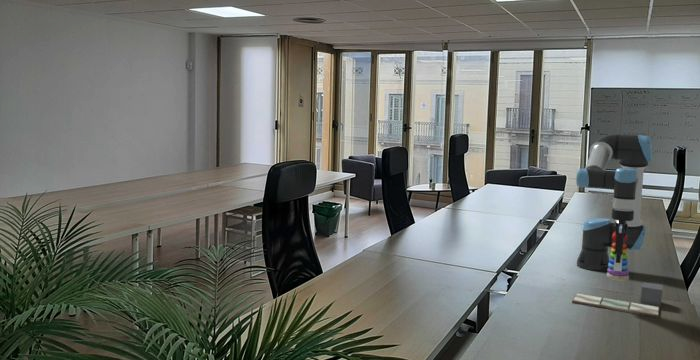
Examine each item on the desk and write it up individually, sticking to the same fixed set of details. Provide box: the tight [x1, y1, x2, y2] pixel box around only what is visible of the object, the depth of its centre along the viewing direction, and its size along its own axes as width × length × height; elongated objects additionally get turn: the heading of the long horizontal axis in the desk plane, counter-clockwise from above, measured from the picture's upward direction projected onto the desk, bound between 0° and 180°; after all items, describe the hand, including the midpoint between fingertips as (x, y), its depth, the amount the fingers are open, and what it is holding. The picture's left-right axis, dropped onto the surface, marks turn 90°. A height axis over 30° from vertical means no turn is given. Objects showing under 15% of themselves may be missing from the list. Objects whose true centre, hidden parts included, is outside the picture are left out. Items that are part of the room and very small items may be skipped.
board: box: [571, 293, 660, 319], centre depth 224 cm, size 11×30×1 cm, turn 61°
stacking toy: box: [606, 231, 630, 282], centre depth 222 cm, size 8×8×19 cm
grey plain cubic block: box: [639, 282, 663, 308], centre depth 228 cm, size 7×7×7 cm
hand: (618, 268), depth 222 cm, fingers closed on stacking toy, 7 cm apart
